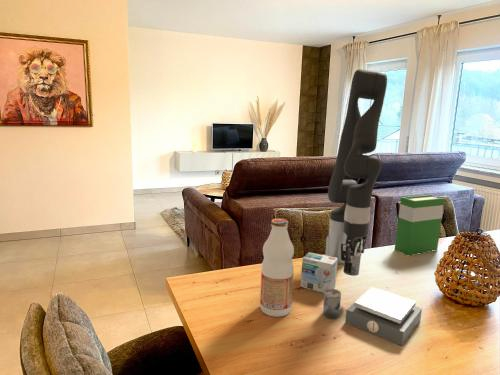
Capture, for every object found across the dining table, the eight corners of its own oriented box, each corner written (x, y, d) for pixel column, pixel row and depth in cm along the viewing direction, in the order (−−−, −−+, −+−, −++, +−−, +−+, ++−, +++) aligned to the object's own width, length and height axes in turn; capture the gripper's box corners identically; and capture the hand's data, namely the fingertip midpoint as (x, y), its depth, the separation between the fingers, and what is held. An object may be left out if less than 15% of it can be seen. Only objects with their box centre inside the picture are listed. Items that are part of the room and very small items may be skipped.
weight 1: (320, 315, 111) (321, 292, 110) (327, 308, 115) (328, 287, 113) (335, 320, 108) (337, 297, 107) (342, 313, 112) (343, 291, 111)
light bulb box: (299, 287, 128) (301, 257, 126) (306, 279, 134) (308, 251, 132) (330, 295, 123) (332, 264, 121) (335, 286, 129) (338, 257, 127)
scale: (344, 323, 107) (345, 309, 106) (367, 301, 120) (369, 289, 119) (401, 346, 97) (403, 331, 96) (420, 320, 110) (422, 307, 109)
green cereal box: (423, 245, 174) (430, 194, 169) (437, 250, 167) (444, 198, 162) (394, 249, 166) (400, 197, 161) (407, 255, 160) (414, 201, 155)
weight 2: (340, 272, 120) (342, 251, 118) (347, 267, 123) (349, 247, 122) (354, 277, 117) (357, 256, 115) (361, 272, 120) (363, 251, 118)
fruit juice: (270, 320, 107) (275, 227, 101) (254, 305, 115) (257, 218, 109) (297, 313, 112) (303, 223, 106) (279, 298, 120) (284, 214, 114)
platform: (353, 306, 107) (354, 302, 106) (372, 290, 116) (372, 287, 116) (400, 323, 99) (400, 319, 98) (415, 305, 108) (416, 301, 108)
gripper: (355, 211, 123) (350, 259, 127) (334, 221, 113) (329, 273, 117) (377, 216, 119) (371, 266, 123) (357, 227, 108) (352, 281, 112)
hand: (351, 269), depth 120 cm, fingers closed on weight 2, 4 cm apart
